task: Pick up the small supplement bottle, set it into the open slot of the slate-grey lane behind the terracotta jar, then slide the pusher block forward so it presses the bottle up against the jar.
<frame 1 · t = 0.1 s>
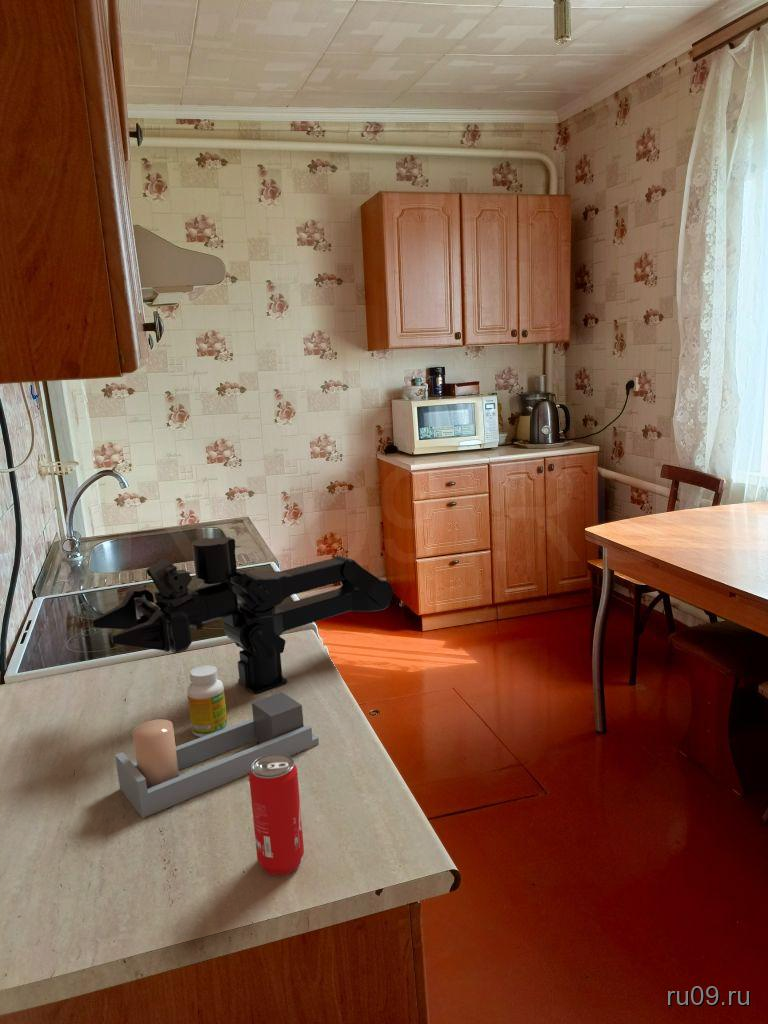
hand: (102, 631, 110), 17 cm above the table, tool horizontal, fingers open, 9 cm apart
jar1: (161, 791, 98), resting in lane
pusher: (278, 722, 107), point 3 cm above the table, slide at 0.0 cm
beverage can: (281, 863, 83), on the table
lane: (223, 765, 103), on the table
supplement bottle: (210, 730, 113), on the table
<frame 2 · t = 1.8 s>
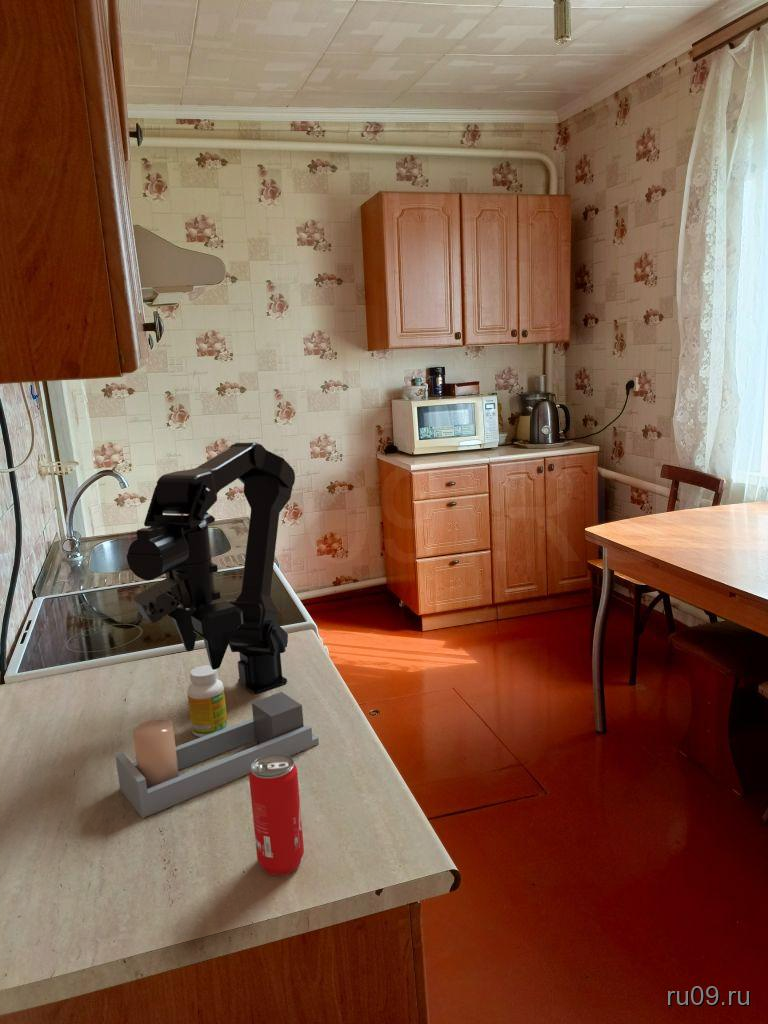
hand: (202, 659, 111), 11 cm above the table, tool pointing down, fingers open, 9 cm apart
nothing on the table moved.
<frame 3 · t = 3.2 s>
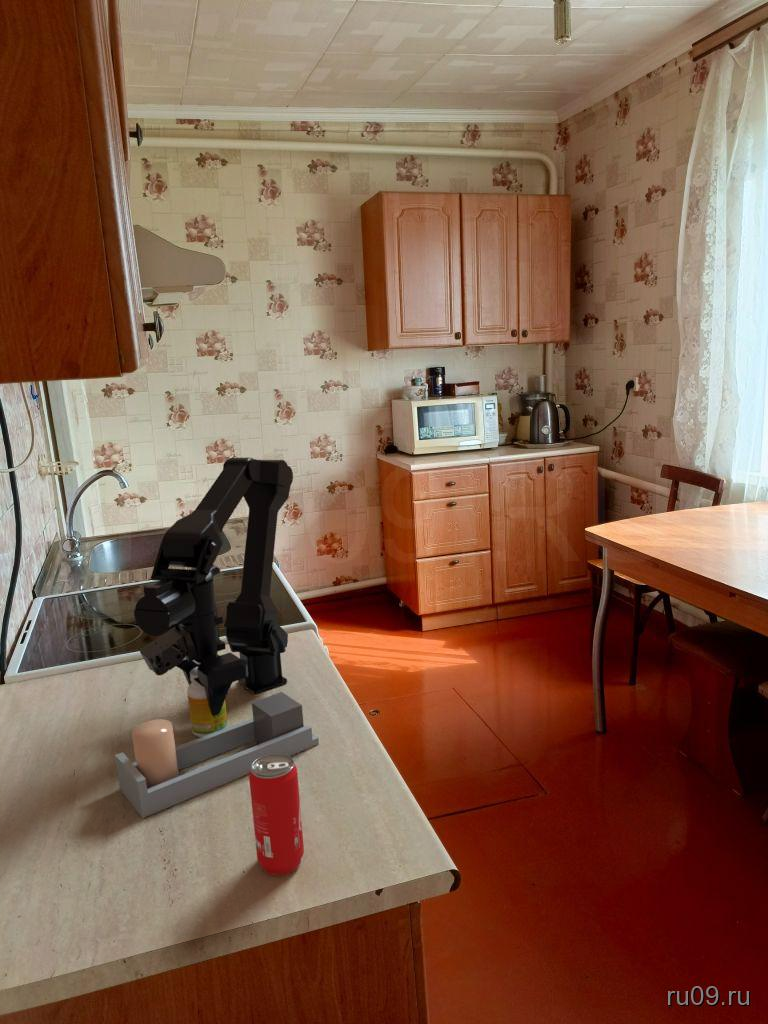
hand: (207, 708, 113), 4 cm above the table, tool pointing down, fingers closed on supplement bottle, 5 cm apart
supplement bottle: (210, 730, 113), on the table, touching gripper
everything else where it was.
when the fingers open (5 cm above the table, at t = 6.7 s): supplement bottle drops 1 cm, resting in lane.
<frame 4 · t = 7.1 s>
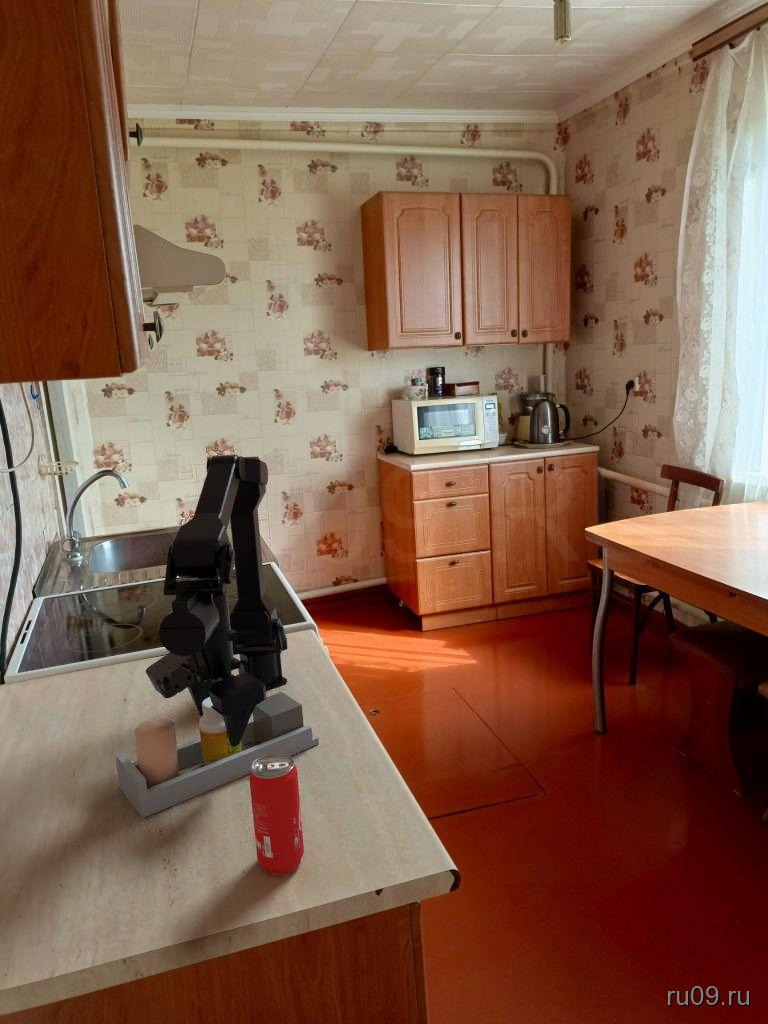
hand: (220, 732, 102), 5 cm above the table, tool pointing down, fingers open, 9 cm apart
supplement bottle: (223, 766, 103), resting in lane
everything else where it was.
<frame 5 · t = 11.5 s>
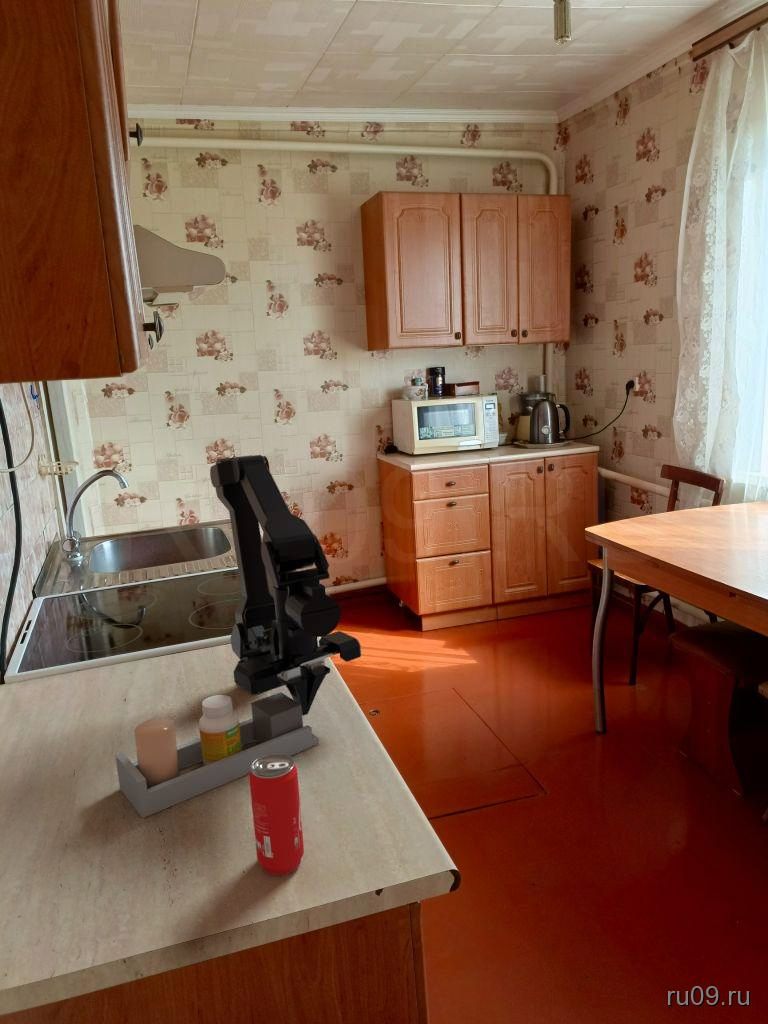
hand: (303, 714, 110), 3 cm above the table, tool pointing down, fingers closed
pusher: (277, 723, 107), point 3 cm above the table, slide at 0.1 cm, touching gripper
everything else where it was.
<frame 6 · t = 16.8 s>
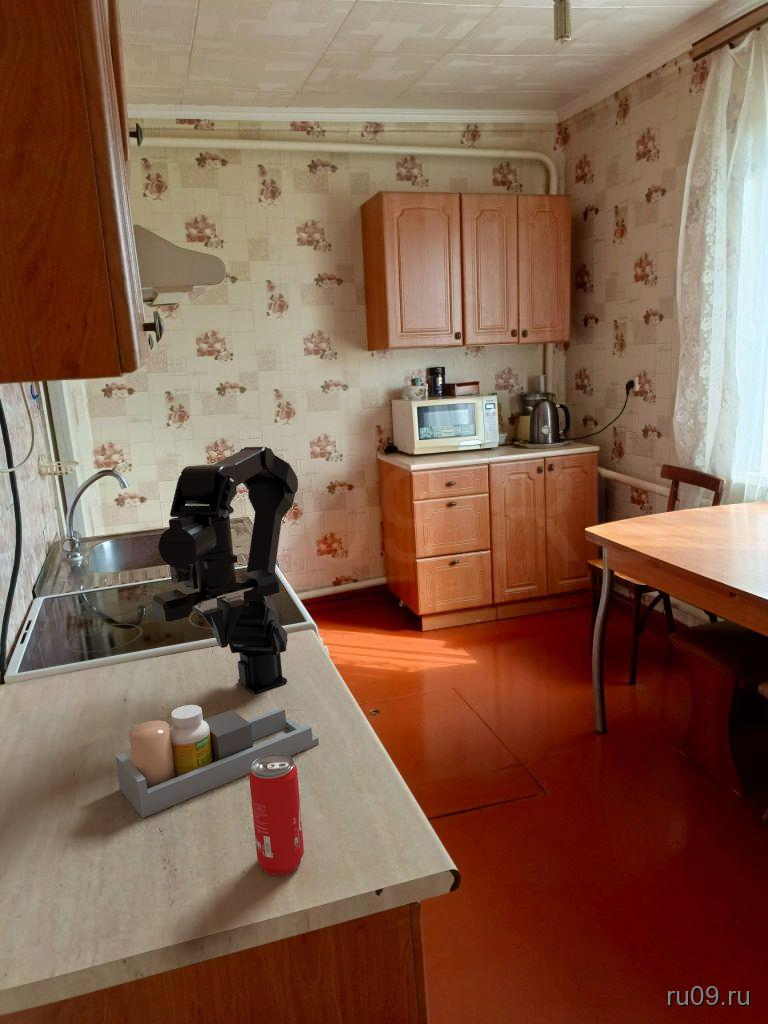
hand: (223, 646, 114), 12 cm above the table, tool pointing down, fingers closed
jar1: (157, 792, 97), resting in lane, touching supplement bottle
pusher: (227, 742, 103), point 3 cm above the table, slide at 8.1 cm
supplement bottle: (194, 778, 100), resting in lane, touching jar1
everything else where it was.
at the end: supplement bottle 0.5 cm from the target spot on the lane, point 0.0 cm above the lane's base; supplement bottle tilted 0°; pusher slide at 8.1 cm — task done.
